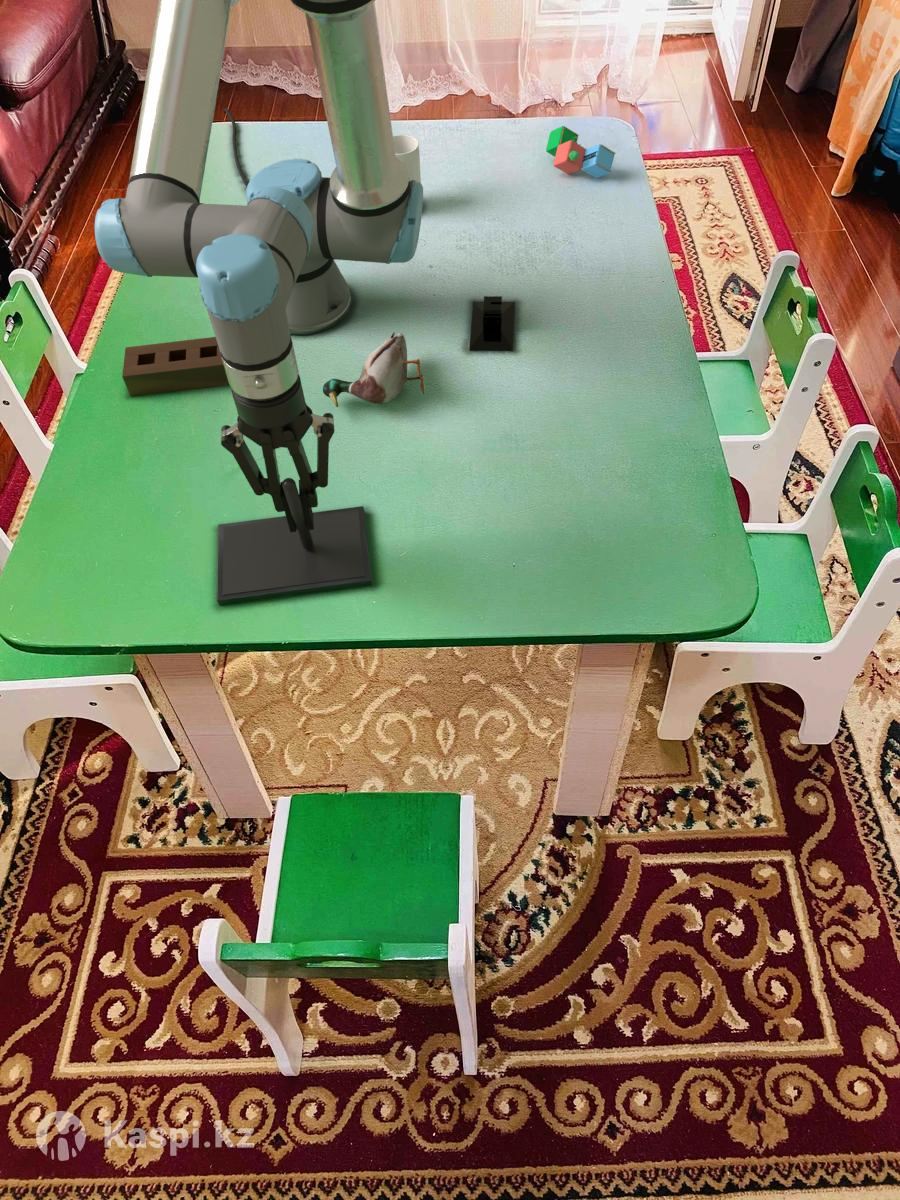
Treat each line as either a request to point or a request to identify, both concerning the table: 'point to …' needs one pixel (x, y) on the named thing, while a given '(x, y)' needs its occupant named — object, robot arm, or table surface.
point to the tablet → (292, 557)
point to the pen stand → (173, 366)
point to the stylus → (297, 512)
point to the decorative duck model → (378, 374)
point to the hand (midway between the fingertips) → (301, 522)
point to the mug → (408, 154)
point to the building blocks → (578, 154)
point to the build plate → (492, 325)
